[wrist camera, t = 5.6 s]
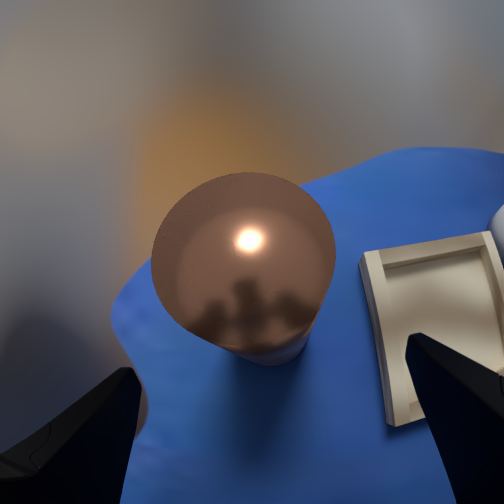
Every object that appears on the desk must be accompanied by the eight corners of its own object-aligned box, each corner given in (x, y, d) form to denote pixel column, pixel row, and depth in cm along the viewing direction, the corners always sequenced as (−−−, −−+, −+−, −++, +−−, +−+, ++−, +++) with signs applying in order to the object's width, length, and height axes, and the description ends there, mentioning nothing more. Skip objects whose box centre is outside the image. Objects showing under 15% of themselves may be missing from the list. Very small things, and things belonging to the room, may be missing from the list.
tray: (511, 374, 15) (525, 372, 13) (386, 423, 16) (395, 426, 14) (479, 240, 19) (490, 230, 18) (358, 262, 20) (363, 252, 18)
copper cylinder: (313, 360, 18) (353, 328, 7) (237, 370, 18) (152, 352, 7) (302, 287, 20) (313, 162, 9) (230, 298, 20) (154, 189, 9)
